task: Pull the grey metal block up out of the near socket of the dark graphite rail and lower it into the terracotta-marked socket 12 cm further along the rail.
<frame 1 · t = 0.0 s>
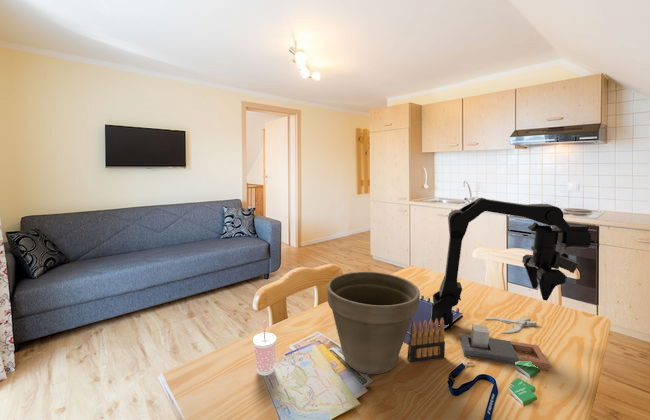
hand: (539, 294, 97), 15 cm above the table, fingers open, 9 cm apart
grey metal block: (478, 350, 93), resting in rail
beverage cup: (265, 370, 83), on the table
ammunition clip: (425, 359, 89), on the table
pliers: (513, 326, 107), on the table
rail: (501, 353, 91), on the table
plant pot: (370, 358, 89), on the table
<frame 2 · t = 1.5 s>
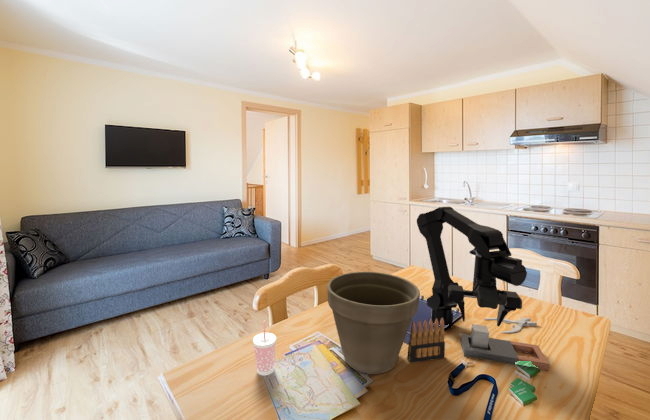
hand: (480, 323, 91), 8 cm above the table, fingers open, 9 cm apart
nothing on the table moved.
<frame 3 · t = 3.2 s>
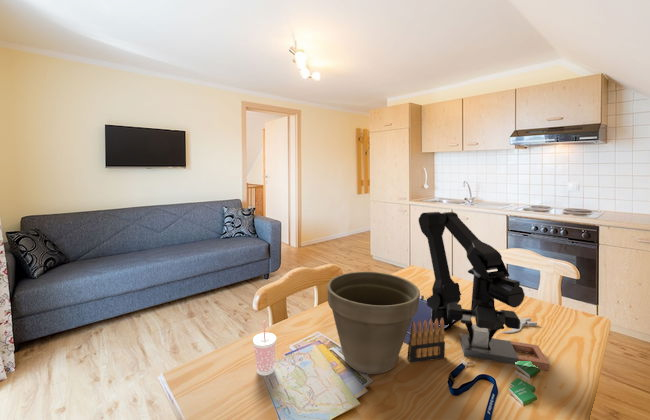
hand: (479, 342, 92), 3 cm above the table, fingers closed on grey metal block, 4 cm apart
grey metal block: (478, 350, 93), resting in rail, touching gripper
everything else where it was.
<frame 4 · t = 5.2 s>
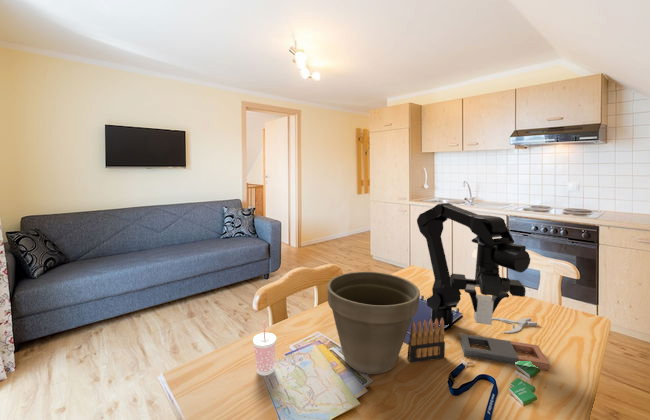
hand: (483, 312, 91), 12 cm above the table, fingers closed on grey metal block, 4 cm apart
grey metal block: (482, 320, 91), point 9 cm above the table, touching gripper
everything else where it was.
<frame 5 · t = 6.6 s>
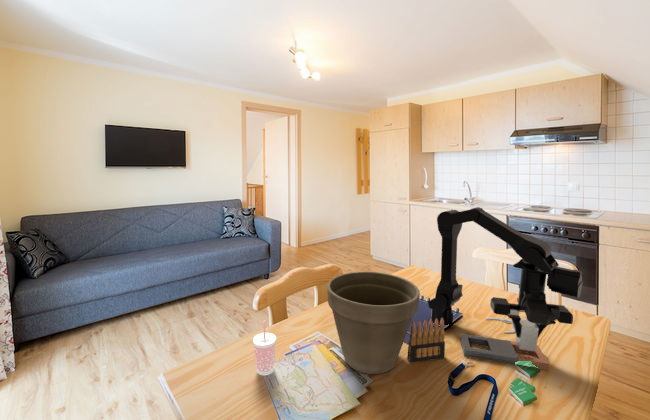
hand: (526, 337, 88), 6 cm above the table, fingers closed on grey metal block, 4 cm apart
grey metal block: (525, 346, 88), point 4 cm above the table, touching gripper
everything else where it was.
when the fingers open (3 cm above the table, at t = 7.4 s): grey metal block drops 1 cm, resting in rail.
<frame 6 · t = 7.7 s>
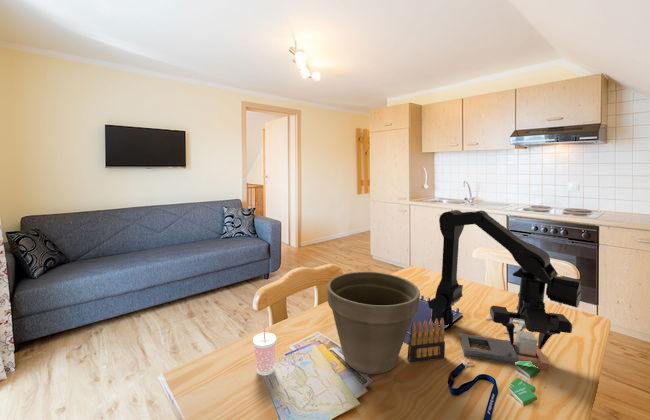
hand: (525, 346, 89), 3 cm above the table, fingers open, 7 cm apart
grey metal block: (524, 357, 89), resting in rail
everything else where it was.
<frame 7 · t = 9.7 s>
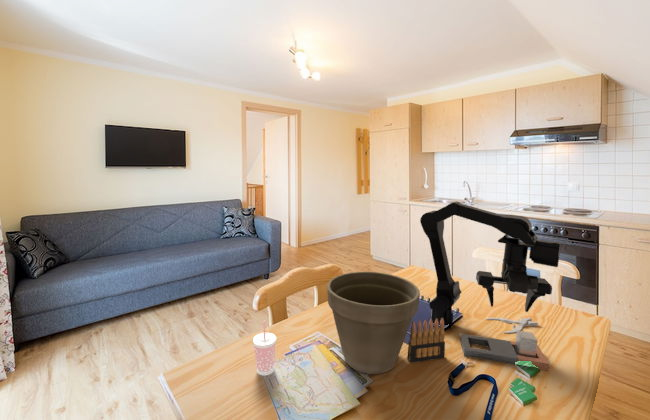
hand: (508, 308, 94), 12 cm above the table, fingers open, 9 cm apart
nothing on the table moved.
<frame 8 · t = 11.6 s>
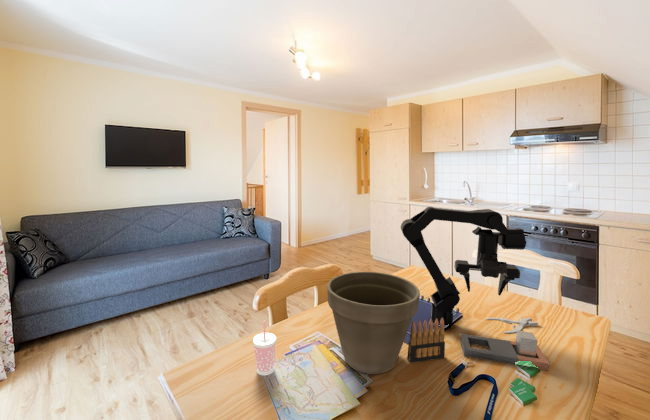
hand: (483, 293, 104), 12 cm above the table, fingers open, 9 cm apart
nothing on the table moved.
at the end: grey metal block 0.0 cm from the target spot on the rail, point 0.0 cm above the rail's base; grey metal block tilted 0°; the gripper is holding nothing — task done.
